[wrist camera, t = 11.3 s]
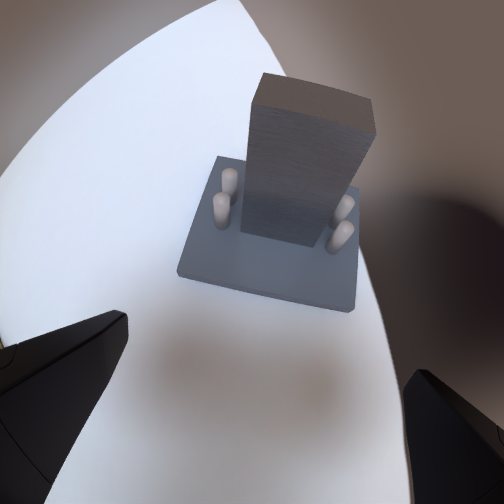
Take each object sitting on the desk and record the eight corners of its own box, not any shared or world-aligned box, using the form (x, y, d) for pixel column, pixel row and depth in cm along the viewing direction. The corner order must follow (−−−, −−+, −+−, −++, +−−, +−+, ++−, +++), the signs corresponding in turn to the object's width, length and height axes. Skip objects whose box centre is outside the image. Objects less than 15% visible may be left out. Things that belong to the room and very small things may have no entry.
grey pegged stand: (348, 312, 22) (374, 296, 18) (178, 276, 23) (167, 251, 18) (354, 195, 27) (372, 165, 23) (217, 164, 28) (216, 129, 23)
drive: (312, 248, 23) (376, 134, 12) (240, 232, 23) (251, 103, 12) (316, 213, 25) (370, 97, 13) (249, 198, 25) (264, 70, 13)
